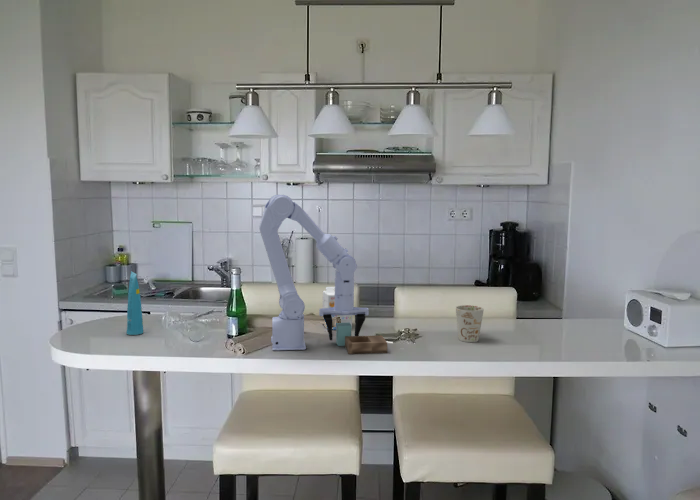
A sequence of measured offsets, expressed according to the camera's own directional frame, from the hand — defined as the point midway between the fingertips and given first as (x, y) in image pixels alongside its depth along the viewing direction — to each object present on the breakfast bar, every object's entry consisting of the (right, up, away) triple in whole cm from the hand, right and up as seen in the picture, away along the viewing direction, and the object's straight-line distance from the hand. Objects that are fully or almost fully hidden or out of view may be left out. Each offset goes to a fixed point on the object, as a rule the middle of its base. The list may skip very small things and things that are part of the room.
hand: (343, 339), depth 156 cm
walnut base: (+6, -2, -5) cm, 9 cm away
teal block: (0, -2, 0) cm, 2 cm away
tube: (-65, 0, +8) cm, 66 cm away
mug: (+40, -1, +9) cm, 41 cm away
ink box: (-2, +1, +20) cm, 21 cm away
